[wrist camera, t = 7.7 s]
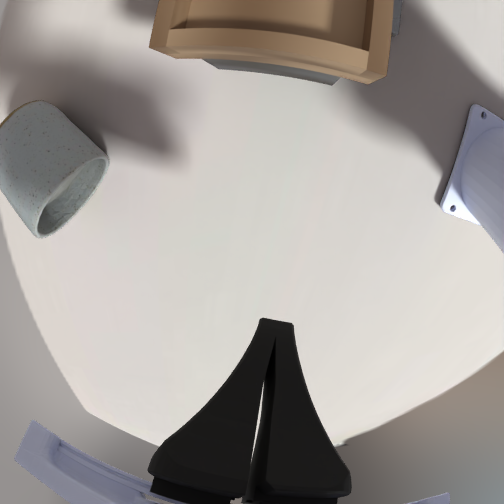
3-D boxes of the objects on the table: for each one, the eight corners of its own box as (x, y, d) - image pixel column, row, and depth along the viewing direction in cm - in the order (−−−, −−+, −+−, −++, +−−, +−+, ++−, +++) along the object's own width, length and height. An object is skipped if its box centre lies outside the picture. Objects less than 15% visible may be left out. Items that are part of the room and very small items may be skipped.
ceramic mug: (61, 85, 15) (-17, 111, 9) (125, 142, 18) (49, 187, 11) (30, 176, 21) (-25, 216, 15) (81, 227, 23) (30, 279, 17)
